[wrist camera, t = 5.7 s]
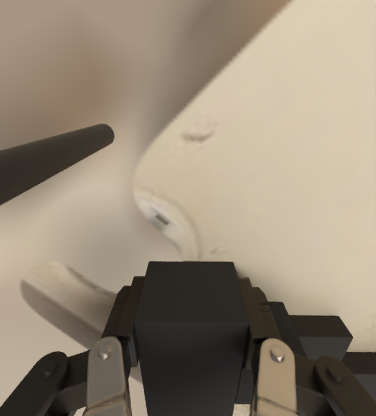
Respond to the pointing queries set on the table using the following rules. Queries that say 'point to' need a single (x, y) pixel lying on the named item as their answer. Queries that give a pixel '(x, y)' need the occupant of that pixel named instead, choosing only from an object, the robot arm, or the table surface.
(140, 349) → the black t-shaped block
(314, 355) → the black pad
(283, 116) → the table surface
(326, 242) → the table surface
